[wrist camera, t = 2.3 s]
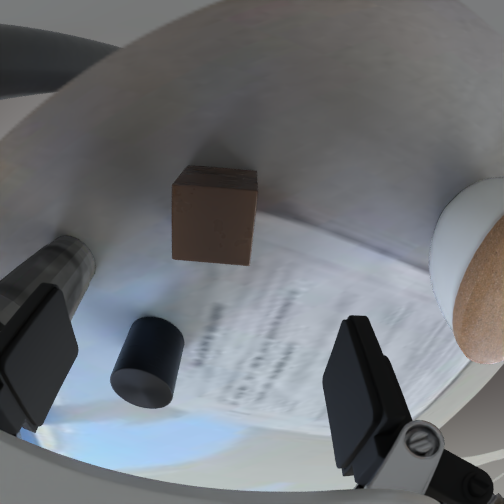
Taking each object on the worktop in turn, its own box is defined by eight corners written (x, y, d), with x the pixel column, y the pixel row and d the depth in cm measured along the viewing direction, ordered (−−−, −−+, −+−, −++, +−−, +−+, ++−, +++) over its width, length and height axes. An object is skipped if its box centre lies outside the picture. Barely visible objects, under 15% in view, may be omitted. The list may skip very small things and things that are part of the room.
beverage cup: (69, 307, 26) (-32, 497, 8) (24, 241, 23) (-123, 412, 5) (127, 282, 25) (21, 525, 7) (78, 204, 21) (-114, 416, 4)
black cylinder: (133, 354, 28) (116, 402, 23) (126, 313, 26) (103, 363, 21) (185, 360, 29) (175, 412, 23) (183, 320, 26) (169, 373, 21)
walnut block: (185, 228, 22) (171, 259, 18) (187, 165, 20) (171, 183, 16) (250, 233, 23) (249, 266, 19) (256, 170, 21) (258, 190, 17)
